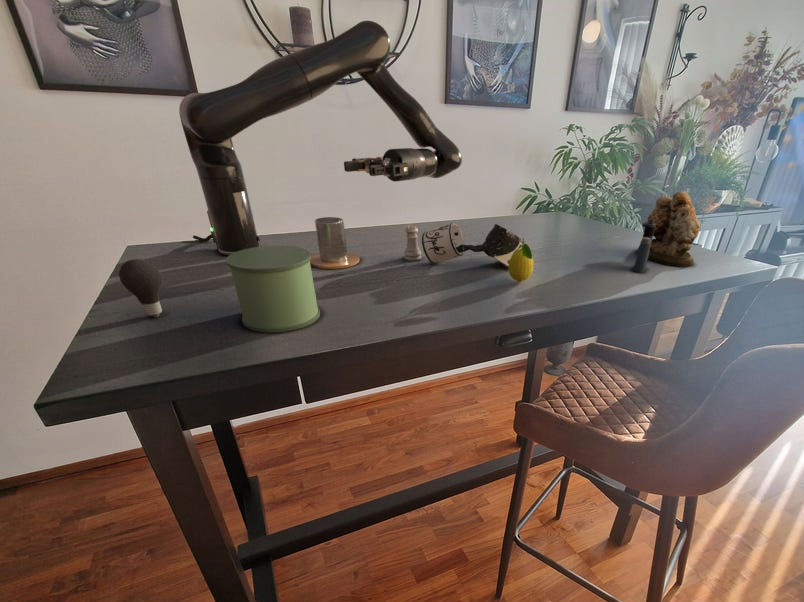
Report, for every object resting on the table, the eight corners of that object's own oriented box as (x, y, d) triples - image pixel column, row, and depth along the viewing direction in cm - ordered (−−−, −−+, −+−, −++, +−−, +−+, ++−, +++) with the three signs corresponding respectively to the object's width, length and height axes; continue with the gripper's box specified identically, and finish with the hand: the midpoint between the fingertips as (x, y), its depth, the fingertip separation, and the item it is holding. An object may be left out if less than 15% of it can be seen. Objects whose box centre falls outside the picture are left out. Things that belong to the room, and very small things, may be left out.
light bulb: (147, 309, 80) (125, 254, 74) (180, 309, 80) (161, 254, 75) (129, 322, 75) (104, 264, 70) (164, 322, 76) (142, 265, 70)
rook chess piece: (423, 256, 113) (422, 224, 109) (419, 261, 110) (418, 228, 105) (406, 255, 114) (404, 223, 109) (402, 260, 110) (400, 227, 106)
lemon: (528, 289, 96) (533, 243, 91) (503, 285, 98) (506, 239, 93) (536, 280, 102) (541, 236, 96) (511, 276, 103) (515, 232, 98)
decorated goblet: (421, 270, 105) (419, 226, 99) (424, 257, 113) (423, 217, 108) (526, 273, 106) (531, 230, 100) (522, 260, 114) (525, 220, 109)
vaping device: (645, 267, 113) (658, 219, 107) (643, 273, 109) (655, 223, 103) (635, 266, 114) (647, 218, 108) (632, 271, 110) (644, 222, 104)
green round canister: (226, 320, 77) (208, 258, 71) (286, 297, 87) (275, 241, 81) (277, 339, 72) (262, 274, 66) (335, 313, 82) (326, 254, 76)
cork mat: (297, 262, 105) (296, 260, 105) (334, 251, 114) (333, 248, 114) (334, 272, 101) (334, 269, 100) (369, 259, 110) (369, 257, 109)
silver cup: (314, 259, 106) (308, 220, 101) (334, 253, 111) (329, 215, 106) (334, 264, 103) (328, 224, 99) (353, 257, 108) (349, 219, 103)
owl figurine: (624, 250, 127) (638, 186, 118) (654, 246, 132) (669, 184, 122) (672, 269, 114) (692, 198, 104) (703, 264, 118) (725, 196, 109)
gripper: (384, 145, 117) (335, 148, 105) (425, 151, 110) (377, 153, 99) (385, 176, 121) (339, 182, 109) (425, 183, 114) (380, 190, 103)
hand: (357, 168), depth 104 cm, fingers open, 8 cm apart
